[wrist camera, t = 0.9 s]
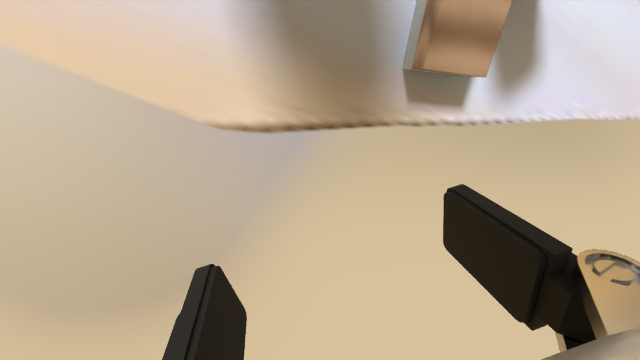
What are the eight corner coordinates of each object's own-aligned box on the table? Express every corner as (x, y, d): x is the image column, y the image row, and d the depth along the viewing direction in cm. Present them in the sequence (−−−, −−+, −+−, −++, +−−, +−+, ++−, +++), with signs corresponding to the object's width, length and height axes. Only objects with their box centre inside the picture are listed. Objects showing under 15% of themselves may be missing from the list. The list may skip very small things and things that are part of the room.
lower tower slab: (417, -11, 33) (430, -18, 31) (477, 1, 35) (494, -4, 33) (400, 69, 37) (411, 69, 35) (455, 75, 39) (469, 75, 37)
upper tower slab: (431, -18, 31) (447, -27, 28) (495, -4, 33) (515, -10, 30) (411, 68, 35) (423, 68, 32) (469, 76, 37) (485, 77, 34)
